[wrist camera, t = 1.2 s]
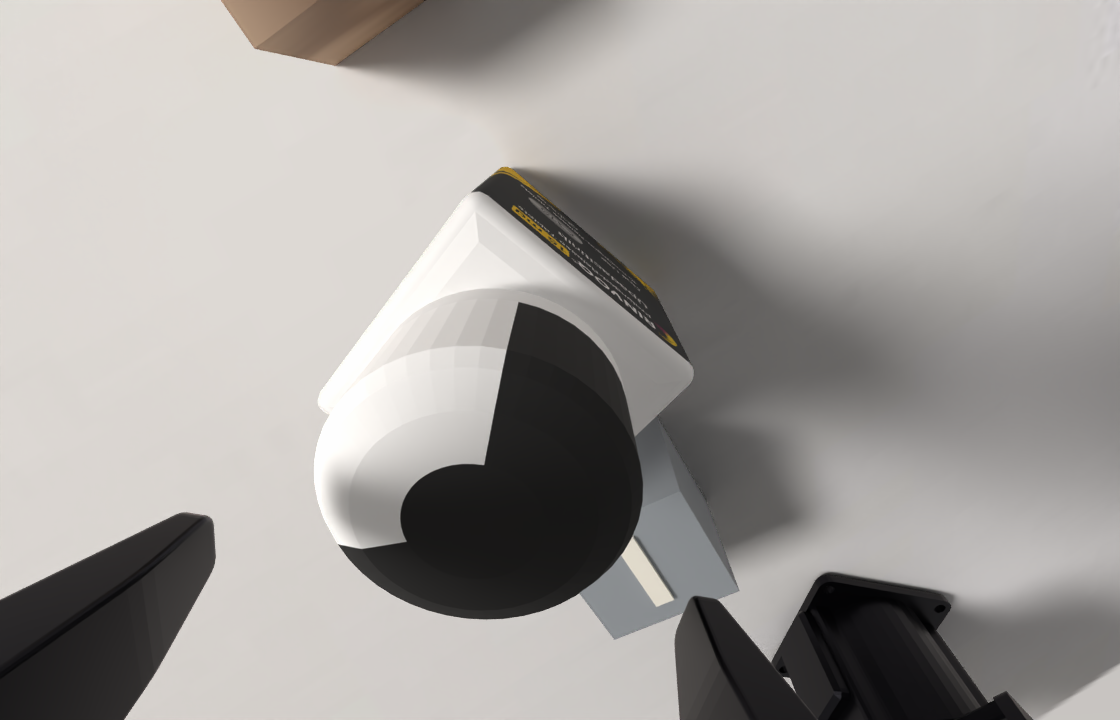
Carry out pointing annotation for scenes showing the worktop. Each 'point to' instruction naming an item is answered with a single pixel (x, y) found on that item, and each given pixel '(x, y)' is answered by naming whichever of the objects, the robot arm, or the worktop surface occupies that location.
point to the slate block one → (662, 547)
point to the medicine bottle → (497, 413)
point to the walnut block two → (316, 25)
